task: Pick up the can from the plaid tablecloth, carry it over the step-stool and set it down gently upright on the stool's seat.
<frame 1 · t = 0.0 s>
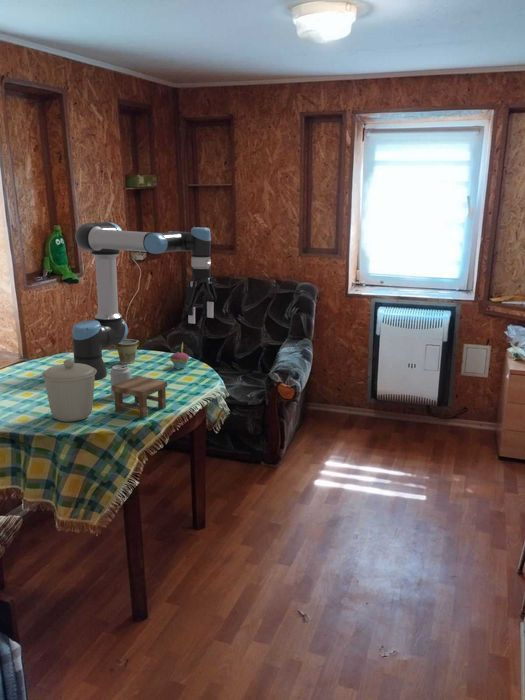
hand: (201, 320, 234), 28 cm above the table, fingers open, 13 cm apart
canister: (72, 417, 205), on the table
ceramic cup: (129, 361, 274), on the table
stool: (140, 409, 213), on the table
can: (121, 396, 227), on the table
cupcake: (180, 368, 266), on the table
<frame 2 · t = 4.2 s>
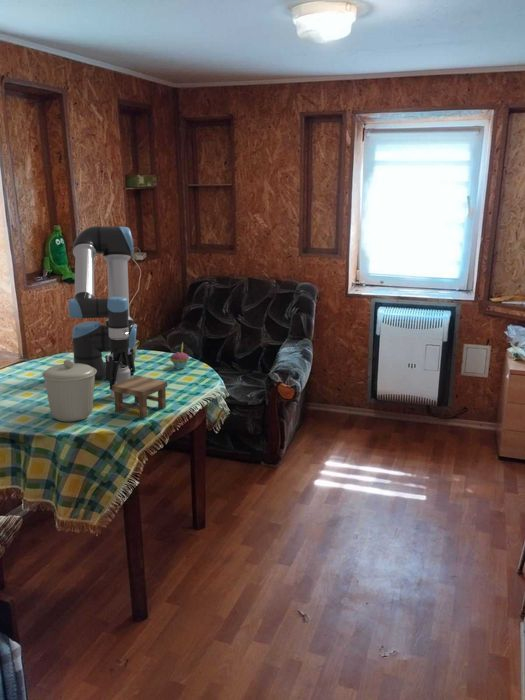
hand: (121, 394, 227), 1 cm above the table, fingers closed on can, 7 cm apart
can: (121, 396, 227), on the table, touching gripper
everything else where it was.
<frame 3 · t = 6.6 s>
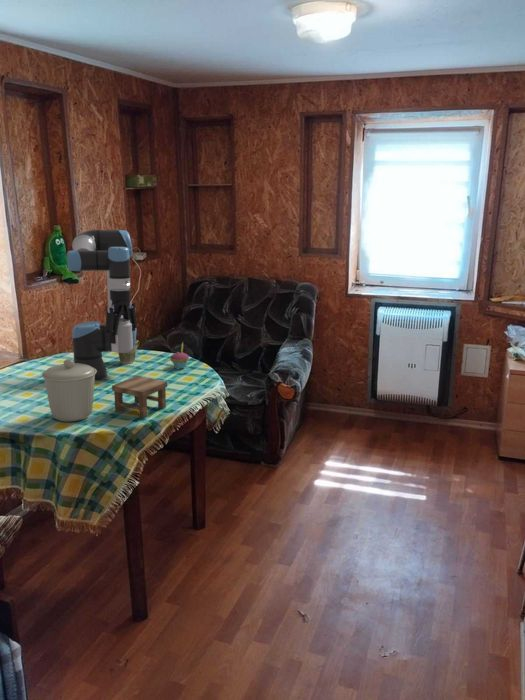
hand: (122, 349, 219), 20 cm above the table, fingers closed on can, 7 cm apart
can: (122, 351, 219), point 19 cm above the table, touching gripper
everything else where it was.
when the fingers open (12 cm above the table, at t = 9.1 s): can drops 1 cm, resting on stool.
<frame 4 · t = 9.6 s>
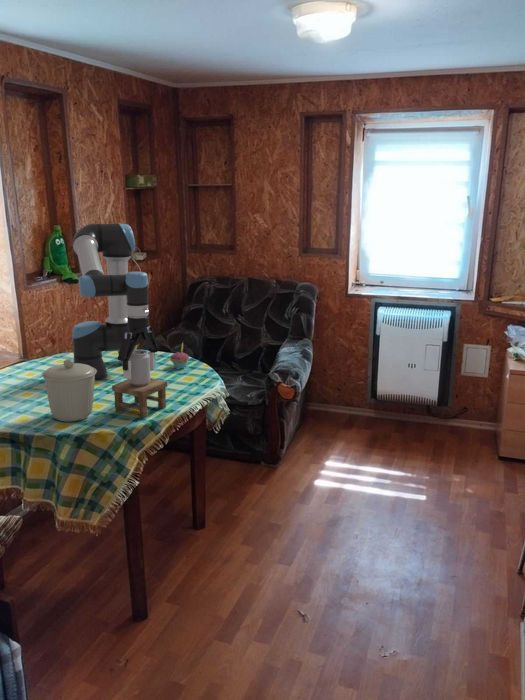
hand: (139, 373, 210), 14 cm above the table, fingers open, 13 cm apart
can: (139, 384, 211), point 10 cm above the table, touching stool
everything else where it was.
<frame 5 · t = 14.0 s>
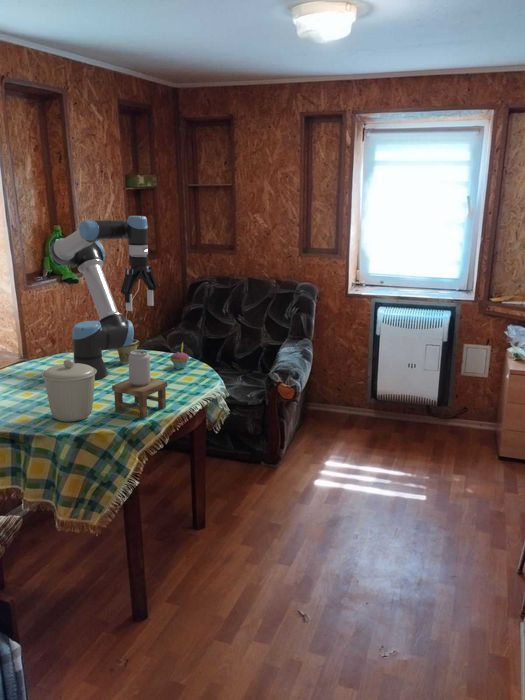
hand: (140, 308, 236), 32 cm above the table, fingers open, 13 cm apart
nothing on the table moved.
at the end: can inside the target area on the stool (0.0 cm from its centre), point 9.8 cm above the stool's base; can tilted 0°; the gripper is holding nothing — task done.
